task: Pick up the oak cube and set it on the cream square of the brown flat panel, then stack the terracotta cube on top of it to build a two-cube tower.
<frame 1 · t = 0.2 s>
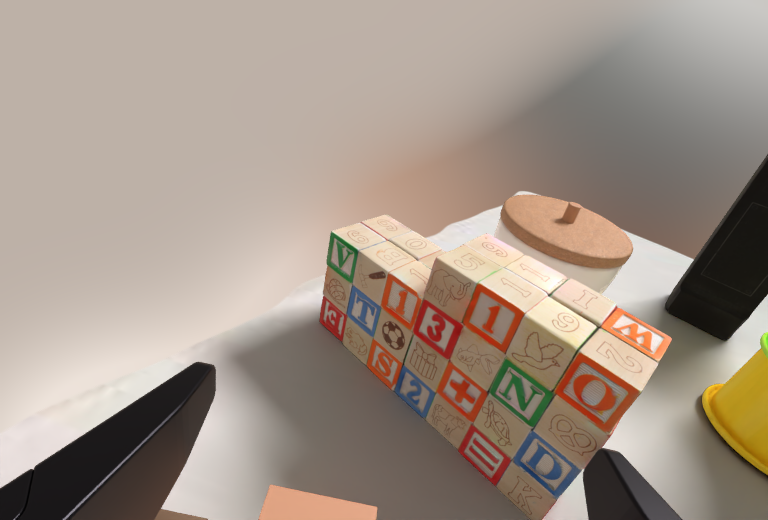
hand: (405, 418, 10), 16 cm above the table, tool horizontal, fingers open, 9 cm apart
lidded bowl: (531, 296, 47), on the table
stacking cups: (765, 440, 35), on the table
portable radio: (701, 319, 49), on the table
stack of blocks: (432, 389, 33), on the table
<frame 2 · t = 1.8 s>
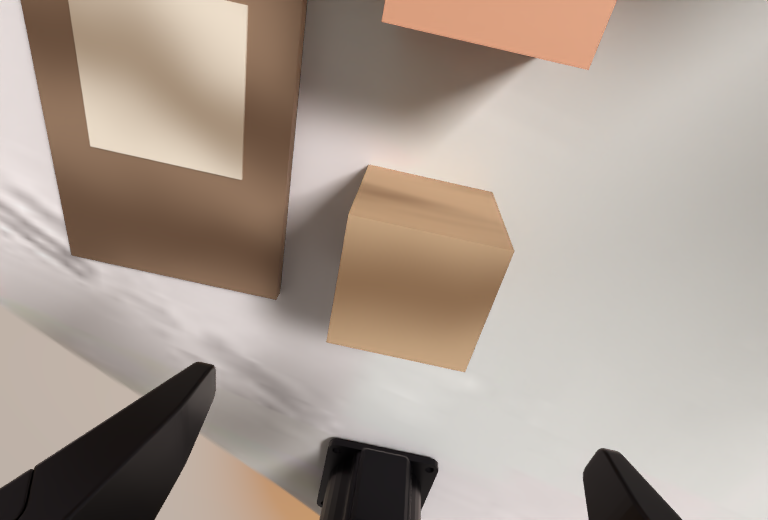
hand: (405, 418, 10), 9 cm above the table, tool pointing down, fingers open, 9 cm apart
brown flat panel: (171, 80, 16), on the table
oak cube: (415, 233, 18), on the table
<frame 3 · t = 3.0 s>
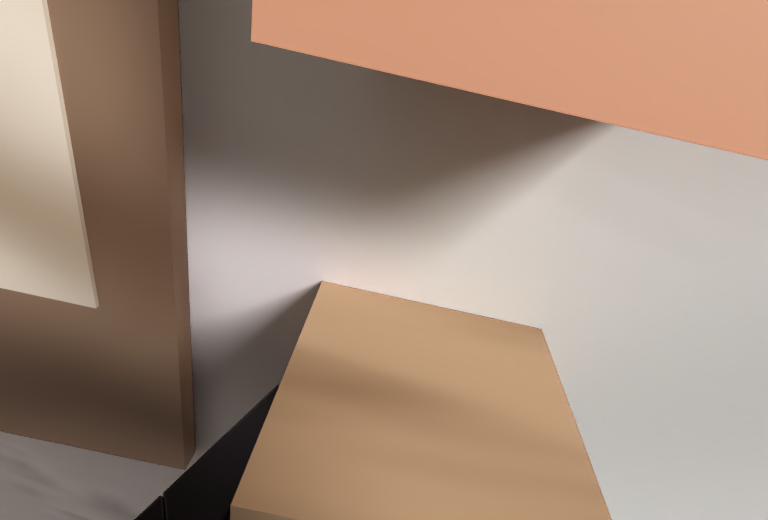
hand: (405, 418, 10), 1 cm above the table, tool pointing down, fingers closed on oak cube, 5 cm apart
oak cube: (407, 384, 11), on the table, touching gripper
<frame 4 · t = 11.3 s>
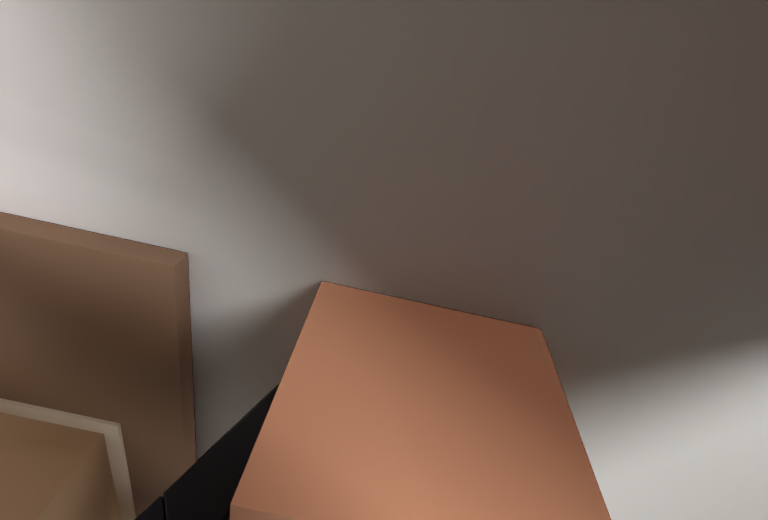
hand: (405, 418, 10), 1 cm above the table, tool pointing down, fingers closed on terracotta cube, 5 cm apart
brown flat panel: (49, 450, 13), on the table
terracotta cube: (406, 384, 11), on the table, touching gripper
oak cube: (32, 469, 13), point 1 cm above the table, touching brown flat panel
when the fingers open (8 cm above the table, at t = 14.3 s): terracotta cube drops 1 cm, resting on oak cube.
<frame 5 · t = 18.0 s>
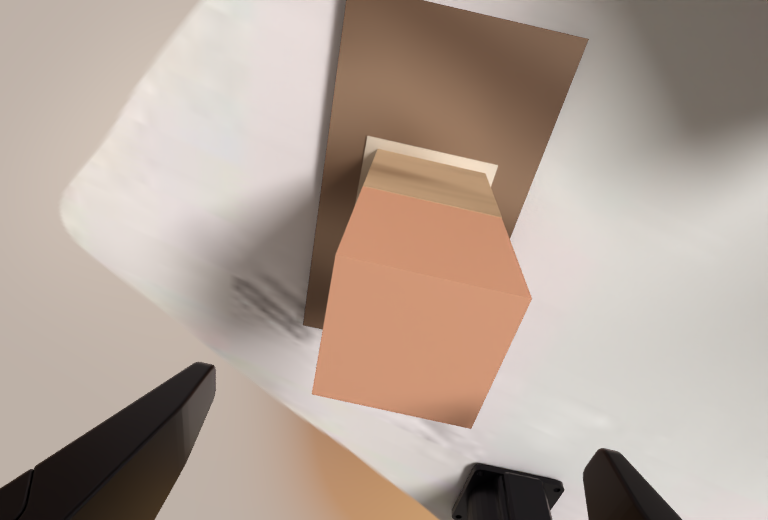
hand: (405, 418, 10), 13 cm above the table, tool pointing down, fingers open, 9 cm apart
brown flat panel: (417, 206, 21), on the table
terracotta cube: (415, 262, 16), point 6 cm above the table, touching oak cube
oak cube: (418, 210, 20), point 1 cm above the table, touching brown flat panel, terracotta cube
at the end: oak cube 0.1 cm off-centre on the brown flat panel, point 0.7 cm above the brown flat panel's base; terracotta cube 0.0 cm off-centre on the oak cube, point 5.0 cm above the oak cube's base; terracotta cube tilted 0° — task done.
